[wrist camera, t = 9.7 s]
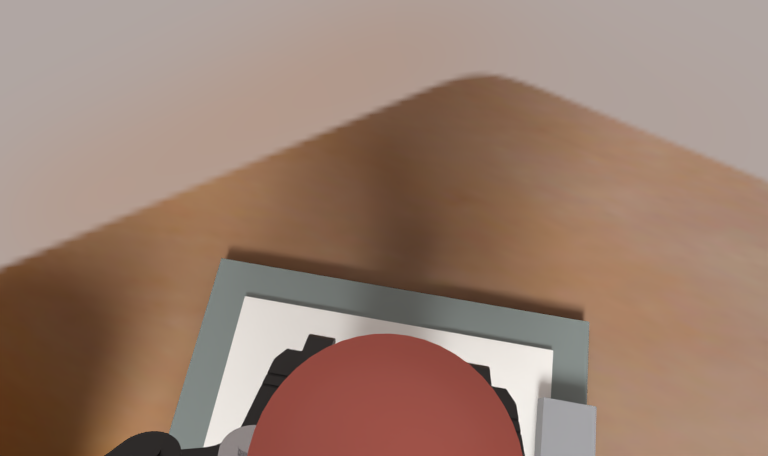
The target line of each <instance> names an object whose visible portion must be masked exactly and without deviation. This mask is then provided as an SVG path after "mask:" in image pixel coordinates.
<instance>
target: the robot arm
mask: <svg viewBox="0 0 768 456" xmlns="http://www.w3.org/2000/svg"><path fill="white" fill-rule="evenodd" d="M335 342H336V339H335V338H331V337H325V336H320V335H314V334H309V336H308V338H307V340H306V343H305V345H304V347H303V350H302V351H298V350H293V349H286V350H285V351H283V352H282V353H281V354H279V355H278V356H277V357H276V358H274V360H273V362H272V364H271V366H270V368H269V370H268V373H267V375H266V376H265V378H264V380H263V383H262V386H261V387H260V389H259V391H258V393H257V395H256V397H255V399H254V401H253V403H252V405H251V407H250V409H249V411H248V413H247V415H246V417H245V420H244V422H243V424H242V426H241V427H240V428H237V429H235V430H233V431H232V432H230V433H229V434H228V435H227V436H226V437H225V438H224V439H223V441H222V442H221V443H220V444H217V445H214V446H210V447H203V448H191V449H181V447H180V444H179V442H178V440H177V439H176V438H175V437H173V436H172V435H170V434H168V433H164V432H158V431H151V432H144V433H140V434H137V435H135V436H132V437H130V438H129V439H127V440H125V441H124V442H123V443H121V444H120V445H118V446H117V447H116V448H114V449H113V450H112V451H110V452H109V453H108V454H106V455H105V456H247V455H248V450H249V446H250V443H251V439H252V436H253V433H254V430H255V427H256V425H257V423H258V421H259V419H260V416H261V414H262V412H263V410H264V408H265V407H266V405H267V403H268V402H269V400H270V398H271V397H272V395H273V394H274V393H275V391H276V390H277V389H278V387H279V386H280V385H281V384H282V382H283V381H284V380H285V379H286V378H287V377H288V376H289V375H290V374H291V373H292V372H293V371H294V370H295V369H296V368H297V367H298V366H300V365H301V364H302V363H303V362H305V361H306V360H307V359H308V358H310V357H311V356H313V355H315V354H316V353H318V352H320V351H321V350H323V349H325V348H327V347H329V346H331V345H333V344H335ZM468 364H470V365H471V366H472V367H473V368H474V369H475V370H476V371H477V372H478V373H479V374H480V375H481V376H482V377H483V378H484V379H485V380H486V381H487V383H488V384H489V385H490V386H491V387H492V388H493V390H494V391H495V392H496V394H497V396H498V397H499V399H500V400H501V402H502V403H503V405H504V406H505V408H506V410H507V412H508V414H509V416H510V418H511V420H512V422H513V425H514V428H515V431H516V433H517V436H518V439H519V442H520V446H521V450H522V455H523V456H525V453H524V447H523V441H522V435H521V430H520V424H519V422H518V420H519V418H518V412H517V406H516V403H515V401H514V400H513V398H512V397H511V395H510V394H509V392H508V391H507V389H505V388H499V387H494V386H492V384H491V376H490V368H489V366H484V365H478V364H473V363H468Z"/></svg>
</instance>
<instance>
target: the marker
mask: <svg viewBox="0 0 768 456" xmlns="http://www.w3.org/2000/svg"><path fill="white" fill-rule="evenodd" d="M247 456H523V455H522V450H521V446H520V442H519V439H518V436H517V433H516V431H515V428H514V425H513V422H512V420H511V418H510V416H509V414H508V412H507V410H506V408H505V406H504V405H503V403H502V402H501V400H500V399H499V397H498V396H497V394H496V392H495V391H494V390H493V388H492V387H491V386H490V385H489V384H488V383H487V381H486V380H485V379H484V378H483V377H482V376H481V375H480V374H479V373H478V372H477V371H476V370H475V369H474V368H473V367H472V366H471V365H470V364H468V363H467V362H465V361H464V360H463V359H461V358H460V357H459V356H457V355H456V354H454V353H452V352H451V351H449V350H447V349H445V348H443V347H441V346H439V345H437V344H434V343H432V342H429V341H427V340H424V339H420V338H416V337H412V336H408V335H399V334H370V335H364V336H357V337H354V338H350V339H347V340H343V341H340V342H338V343H336V344H333V345H331V346H329V347H327V348H325V349H323V350H321V351H320V352H318V353H316V354H315V355H313V356H311V357H310V358H308V359H307V360H306V361H305V362H303V363H302V364H301V365H300V366H298V367H297V368H296V369H295V370H294V371H293V372H292V373H291V374H290V375H289V376H288V377H287V378H286V379H285V380H284V381H283V382H282V384H281V385H280V386H279V387H278V389H277V390H276V391H275V393H274V394H273V395H272V397H271V398H270V400H269V402H268V403H267V405H266V407H265V408H264V410H263V412H262V414H261V416H260V419H259V421H258V423H257V425H256V427H255V430H254V433H253V436H252V439H251V443H250V446H249V450H248V455H247Z"/></svg>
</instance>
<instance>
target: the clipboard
mask: <svg viewBox="0 0 768 456" xmlns="http://www.w3.org/2000/svg"><path fill="white" fill-rule="evenodd" d="M309 334H314V335H320V336H325V337H331V338H335V339H336V342H335V344H336V343H338V342H340V341H343V340H347V339H350V338H354V337H357V336H364V335H370V334H399V335H408V336H412V337H416V338H420V339H424V340H427V341H429V342H432V343H434V344H437V345H439V346H441V347H443V348H445V349H447V350H449V351H451V352H452V353H454V354H456V355H457V356H459V357H460V358H461V359H463V360H464V361H465V362H467V363H473V364H478V365H484V366H489V368H490V376H491V384H492V386H494V387H499V388H505V389H507V391H508V392H509V394H510V395H511V397H512V398H513V400H514V401H515V403H516V406H517V412H518V418H519V420H518V422H519V424H520V430H521V435H522V441H523V447H524V453H525V456H595V443H596V407H595V406H590V405H587V378H588V345H589V322H587V321H581V320H575V319H569V318H564V317H558V316H552V315H546V314H540V313H535V312H529V311H523V310H517V309H512V308H506V307H500V306H494V305H489V304H483V303H477V302H471V301H465V300H460V299H454V298H448V297H442V296H437V295H431V294H425V293H419V292H414V291H408V290H402V289H396V288H390V287H385V286H379V285H373V284H367V283H362V282H356V281H350V280H344V279H339V278H333V277H327V276H321V275H316V274H310V273H304V272H298V271H292V270H287V269H281V268H275V267H269V266H264V265H258V264H252V263H246V262H241V261H235V260H229V259H223V258H222V259H221V262H220V265H219V269H218V272H217V275H216V279H215V282H214V285H213V289H212V292H211V295H210V298H209V302H208V305H207V308H206V312H205V315H204V318H203V322H202V325H201V328H200V332H199V335H198V338H197V342H196V345H195V348H194V352H193V355H192V358H191V362H190V365H189V368H188V372H187V375H186V378H185V382H184V385H183V388H182V392H181V395H180V398H179V402H178V405H177V408H176V412H175V415H174V418H173V422H172V425H171V428H170V432H169V434H170V435H172V436H173V437H175V438H176V439H177V440H178V442H179V444H180V447H181V449H191V448H203V447H210V446H214V445H217V444H220V443H221V442H222V441H223V439H224V438H225V437H226V436H227V435H228V434H229V433H230V432H232V431H233V430H235V429H237V428H240V427H241V426H242V424H243V422H244V420H245V417H246V415H247V413H248V411H249V409H250V407H251V405H252V403H253V401H254V399H255V397H256V395H257V393H258V391H259V389H260V387H261V386H262V383H263V380H264V378H265V376H266V375H267V373H268V370H269V368H270V366H271V364H272V362H273V360H274V358H276V357H277V356H278V355H279V354H281V353H282V352H283V351H285V350H286V349H293V350H298V351H302V350H303V347H304V345H305V343H306V340H307V338H308V336H309Z"/></svg>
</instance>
